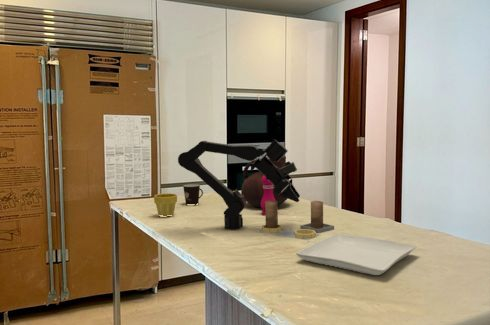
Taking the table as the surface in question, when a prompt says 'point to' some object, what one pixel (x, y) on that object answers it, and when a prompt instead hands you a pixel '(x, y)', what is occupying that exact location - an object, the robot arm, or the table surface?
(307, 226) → the gray square tray
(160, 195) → the plant pot
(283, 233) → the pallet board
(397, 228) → the table surface
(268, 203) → the cylinder
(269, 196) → the pink bowling pin
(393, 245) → the square plate
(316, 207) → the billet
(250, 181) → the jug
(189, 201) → the coffee mug
